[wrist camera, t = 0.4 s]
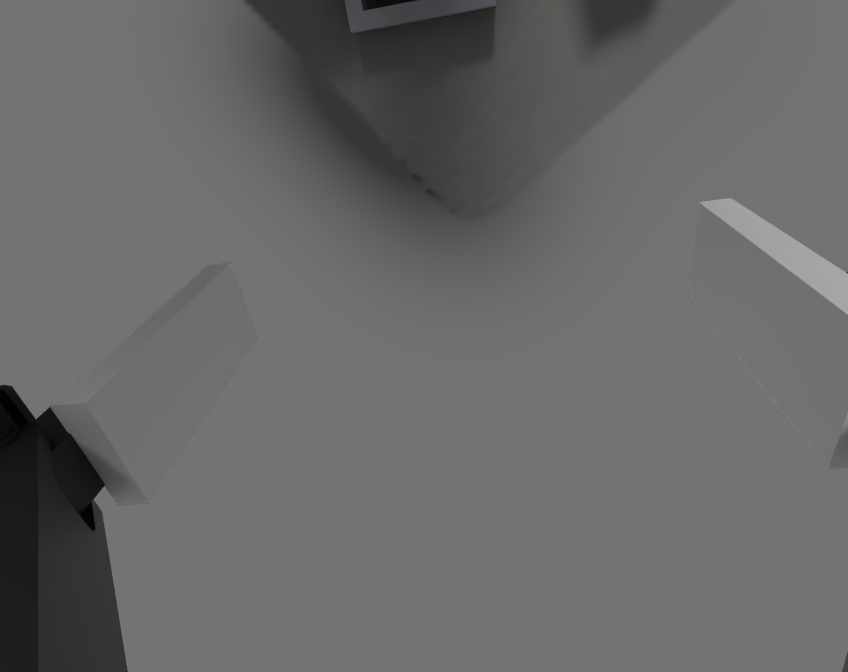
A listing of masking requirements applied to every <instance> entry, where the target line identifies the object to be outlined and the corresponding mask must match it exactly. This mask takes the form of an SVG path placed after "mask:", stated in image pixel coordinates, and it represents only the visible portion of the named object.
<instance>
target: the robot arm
mask: <svg viewBox="0 0 848 672" xmlns="http://www.w3.org/2000/svg"><path fill="white" fill-rule="evenodd" d="M688 297H689V299H690V300H691V301H692V302H693V303H694V305H695V306H696V307H697V308H698V310H699V311H700V312H701V313H702V315H703V316H704V317H705V318H706V319H707V320H708V322H709V323H710V324H711V326H712V327H713V328H714V329H715V330H716V332H717V333H718V334H719V335H720V337H721V338H722V339H723V340H724V342H725V343H726V344H727V345H728V346H729V348H730V349H731V350H732V351H733V353H734V354H735V355H736V356H737V358H738V359H739V360H740V361H741V363H742V364H743V365H744V366H745V367H746V369H747V370H748V371H749V372H750V374H751V375H752V376H753V377H754V378H755V380H756V381H757V382H758V383H759V385H760V386H761V387H762V388H763V390H764V391H765V392H766V393H767V394H768V396H769V397H770V398H771V399H772V400H773V402H774V403H775V404H776V406H777V407H778V408H779V409H780V411H781V412H782V413H783V414H784V415H785V417H786V418H787V419H788V420H789V422H790V423H791V424H792V425H793V426H794V427H795V429H796V430H797V431H798V433H799V434H800V435H801V436H802V438H803V439H804V440H805V441H806V442H807V444H808V445H809V446H810V447H811V449H812V450H813V451H814V452H815V454H816V455H817V456H818V457H819V459H820V460H821V461H822V462H823V463H824V465H825V466H826V467H827V468H828V469H839V468H848V272H844V271H842V270H841V269H839V268H838V267H836V266H834V265H833V264H832V263H830V262H829V261H827V260H825V259H824V258H822V257H821V256H819V255H818V254H816V253H815V252H813V251H812V250H810V249H809V248H807V247H805V246H804V245H802V244H801V243H799V242H798V241H796V240H795V239H793V238H792V237H790V236H788V235H787V234H785V233H784V232H782V231H781V230H779V229H778V228H776V227H775V226H773V225H771V224H770V223H768V222H767V221H765V220H764V219H762V218H761V217H759V216H758V215H756V214H754V213H753V212H751V211H750V210H748V209H747V208H745V207H744V206H742V205H741V204H739V203H738V202H736V201H734V200H733V199H731V198H729V199H721V200H713V201H705V202H699V207H698V216H697V224H696V233H695V241H694V251H693V258H692V267H691V275H690V284H689V293H688ZM259 342H260V338H259V335H258V333H257V330H256V327H255V325H254V322H253V319H252V317H251V314H250V312H249V309H248V306H247V304H246V301H245V299H244V296H243V293H242V291H241V288H240V286H239V283H238V280H237V278H236V275H235V272H234V270H233V267H232V265H231V262H229V263H222V264H214V265H207V266H206V267H205V268H204V269H202V270H201V271H200V272H199V273H198V274H197V275H196V276H195V277H193V278H192V279H191V280H190V281H189V282H188V283H187V284H186V285H185V286H184V287H182V288H181V289H180V290H179V291H178V292H177V293H176V294H175V295H173V296H172V297H171V298H170V299H169V300H168V301H167V302H165V304H163V305H162V306H161V307H160V308H159V309H158V310H157V311H155V312H154V313H153V314H152V315H151V316H150V317H149V318H148V319H147V320H145V321H144V322H143V323H142V324H141V325H140V326H139V327H137V328H136V329H135V330H134V331H133V332H132V333H131V334H130V335H129V336H127V337H126V338H125V339H124V340H123V341H122V342H121V343H120V344H119V345H117V346H116V347H115V348H114V349H113V350H112V351H111V352H109V353H108V354H107V355H106V356H105V357H104V358H103V359H102V360H101V361H99V362H98V363H97V364H96V365H95V366H94V367H93V368H92V369H91V370H89V371H88V372H87V373H86V374H85V375H84V376H83V377H81V378H80V379H79V380H78V381H77V382H76V383H75V384H74V385H73V386H72V387H70V388H69V389H68V390H67V391H66V392H65V393H64V394H63V395H61V396H60V397H59V398H58V399H57V400H56V401H55V402H53V403H52V404H51V405H50V407H49V408H48V409H47V410H46V411H45V412H44V413H43V414H42V415H41V416H39V417H38V418H37V419H35V418H34V416H33V415H32V413H31V412H30V411H29V409H28V408H27V406H26V405H25V404H24V402H23V401H22V400H21V398H20V397H19V395H18V394H17V393H16V391H15V390H14V388H13V387H12V386H7V385H1V386H0V672H128V671H127V666H126V659H125V653H124V647H123V640H122V634H121V627H120V621H119V615H118V609H117V602H116V597H115V590H114V584H113V578H112V571H111V565H110V559H109V553H108V546H107V541H106V534H105V528H104V522H103V515H102V511H101V510H100V508H99V507H98V505H97V504H96V502H95V501H94V500H93V499H94V498H95V497H96V496H97V494H98V493H99V492H100V491H101V489H102V488H103V487H104V486H105V487H106V488H107V490H108V492H109V493H110V495H111V496H112V497H113V499H114V500H115V502H116V503H117V505H133V504H150V503H151V501H152V500H153V498H154V497H155V495H156V494H157V492H158V491H159V489H160V488H161V486H162V485H163V483H164V482H165V480H166V479H167V478H168V476H169V475H170V473H171V471H172V470H173V469H174V467H175V466H176V464H177V463H178V461H179V460H180V458H181V457H182V455H183V454H184V452H185V451H186V450H187V448H188V447H189V445H190V444H191V442H192V441H193V439H194V438H195V436H196V435H197V433H198V432H199V430H200V429H201V427H202V426H203V424H204V423H205V421H206V420H207V418H208V417H209V416H210V414H211V412H212V411H213V410H214V408H215V407H216V405H217V404H218V402H219V401H220V399H221V398H222V396H223V395H224V393H225V392H226V391H227V389H228V388H229V386H230V385H231V383H232V382H233V380H234V379H235V377H236V376H237V374H238V373H239V371H240V370H241V368H242V367H243V365H244V364H245V362H246V361H247V359H248V358H249V357H250V355H251V353H252V352H253V351H254V349H255V348H256V346H257V345H258V343H259ZM842 672H848V653H847V657H846V660H845V664H844V667H843V671H842Z"/></svg>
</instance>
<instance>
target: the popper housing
mask: <svg viewBox="0 0 848 672" xmlns="http://www.w3.org/2000/svg"><path fill="white" fill-rule="evenodd" d="M344 1H345V6H346V11H347V16H348V22H349V27H350V32H351V33H361V32H366V31H371V30H376V29H382V28H387V27H392V26H398V25H403V24H408V23H413V22H419V21H424V20H429V19H435V18H440V17H445V16H450V15H456V14H461V13H466V12H472V11H477V10H482V9H487V8H493V7H496V6H497V1H496V0H416V1H411V2H406V3H401V4H396V5H391V6H386V7H381V8H375V9H370V10H368V6H367V0H344Z"/></svg>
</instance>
